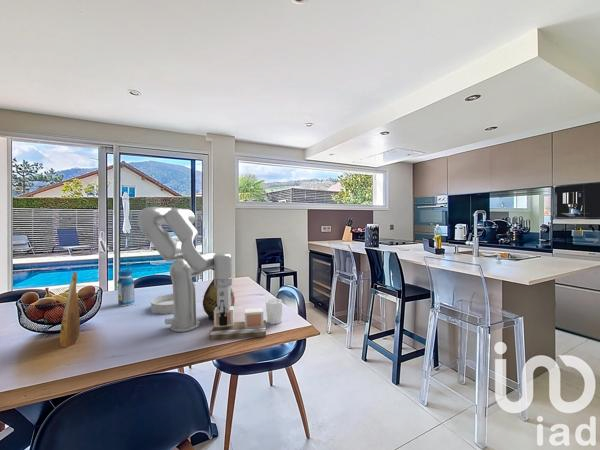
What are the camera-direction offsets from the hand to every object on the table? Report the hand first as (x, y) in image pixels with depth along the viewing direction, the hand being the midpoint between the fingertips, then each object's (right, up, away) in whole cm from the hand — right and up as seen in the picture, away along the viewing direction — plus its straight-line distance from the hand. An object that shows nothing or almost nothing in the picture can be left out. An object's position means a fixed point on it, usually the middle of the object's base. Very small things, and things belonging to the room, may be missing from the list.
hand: (224, 322), depth 127 cm
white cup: (+21, -4, +12) cm, 24 cm away
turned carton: (0, -1, 0) cm, 1 cm away
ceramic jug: (-7, -4, +19) cm, 21 cm away
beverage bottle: (-68, -4, +42) cm, 80 cm away
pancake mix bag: (-63, -6, -5) cm, 63 cm away
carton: (+13, -2, +1) cm, 13 cm away
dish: (-38, -4, +36) cm, 53 cm away
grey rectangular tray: (+7, -4, 0) cm, 8 cm away
